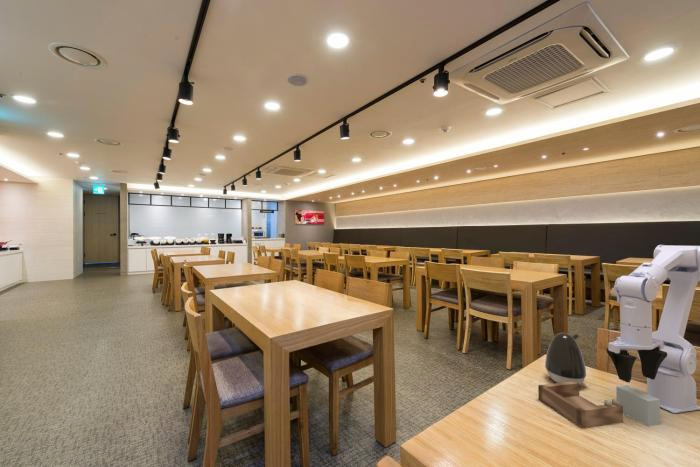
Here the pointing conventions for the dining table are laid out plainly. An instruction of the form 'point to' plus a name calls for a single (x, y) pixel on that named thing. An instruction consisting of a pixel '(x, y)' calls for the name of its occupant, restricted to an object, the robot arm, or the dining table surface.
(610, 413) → the wooden rimmed tray
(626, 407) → the grey block
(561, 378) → the dark egg-shaped dome
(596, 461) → the dining table surface
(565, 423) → the dining table surface
